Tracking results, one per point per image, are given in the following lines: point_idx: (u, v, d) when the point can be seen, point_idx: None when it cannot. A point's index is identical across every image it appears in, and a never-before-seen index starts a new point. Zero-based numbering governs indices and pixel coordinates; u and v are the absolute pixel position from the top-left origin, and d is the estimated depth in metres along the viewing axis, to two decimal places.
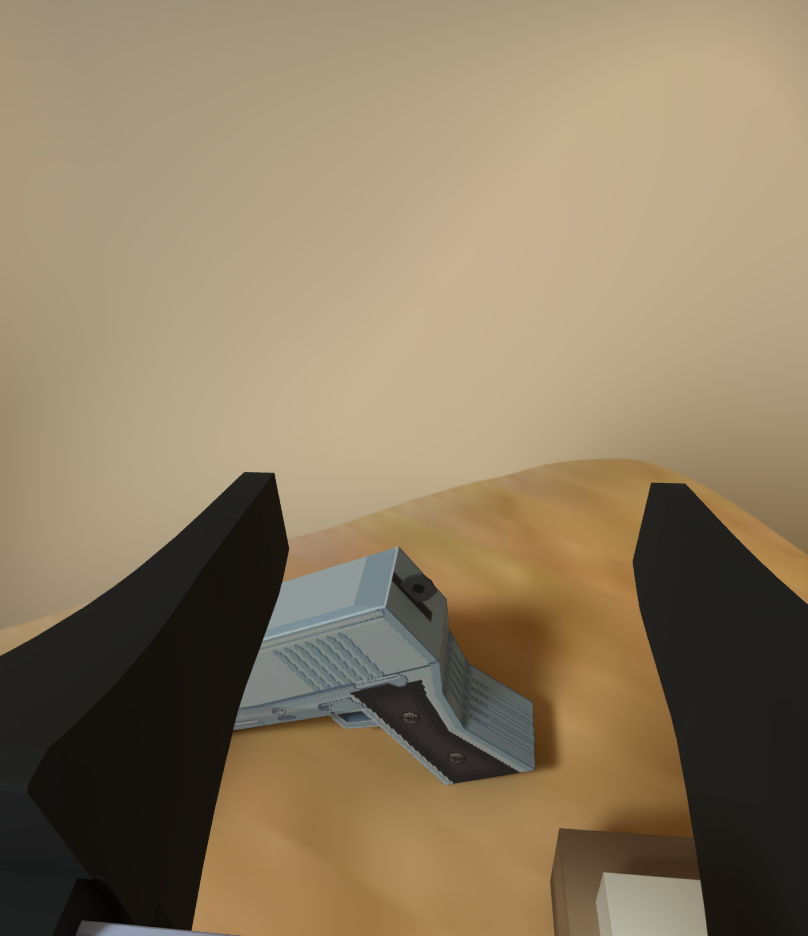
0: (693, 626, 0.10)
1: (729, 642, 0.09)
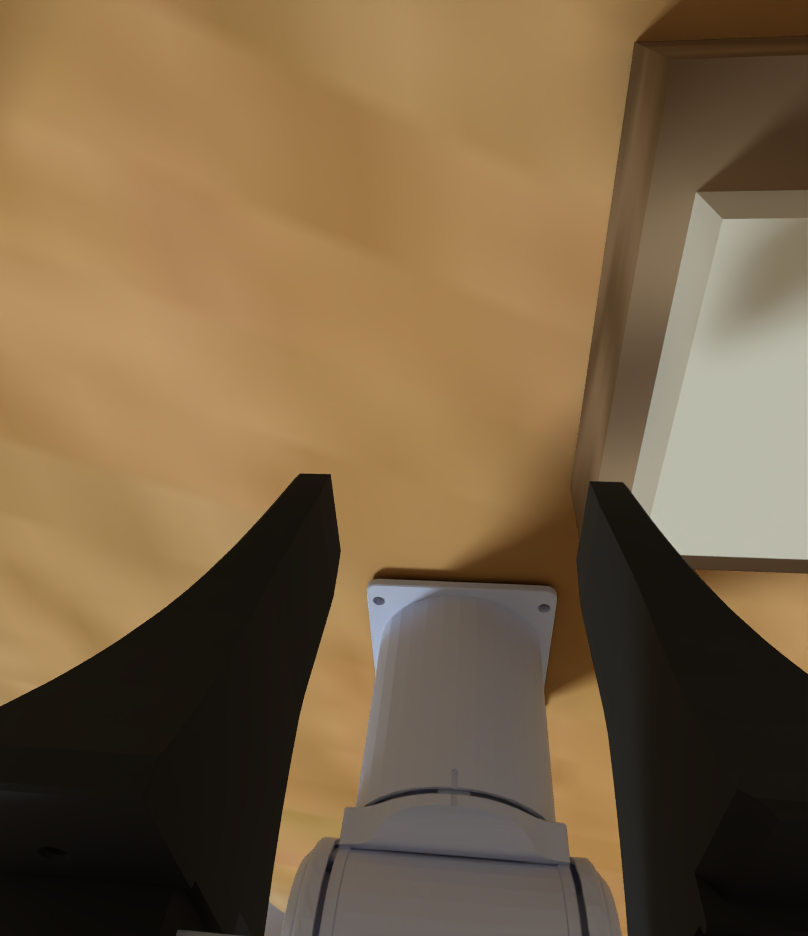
0: (619, 623, 0.10)
1: (644, 638, 0.09)
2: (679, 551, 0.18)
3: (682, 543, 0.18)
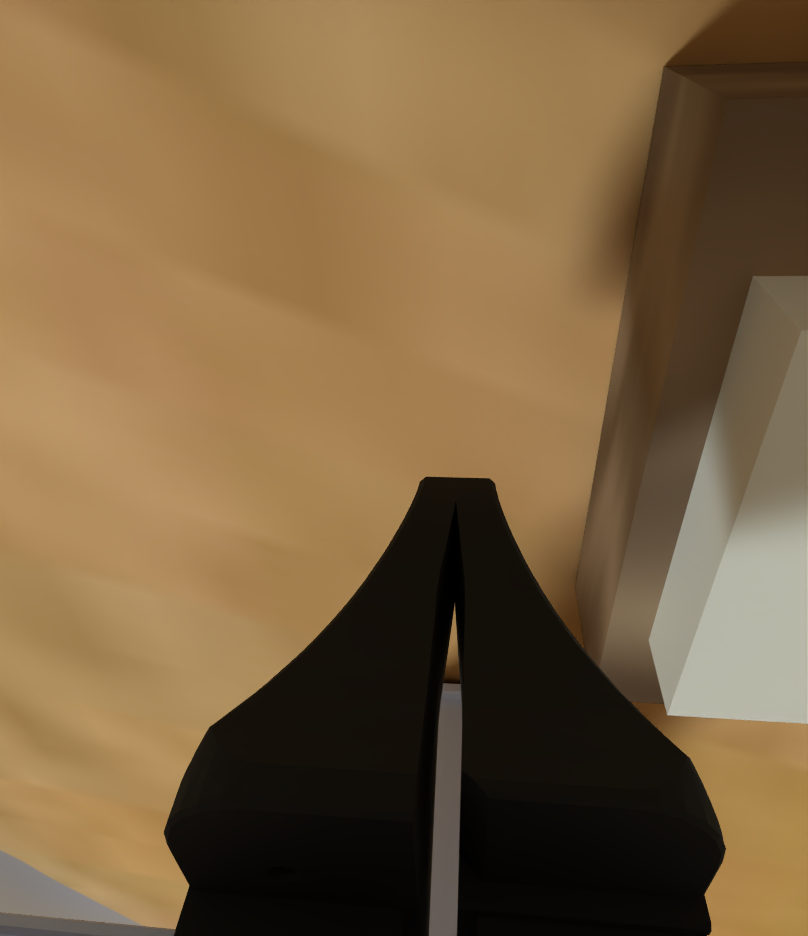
0: (462, 615, 0.10)
1: None
2: (716, 714, 0.14)
3: (721, 706, 0.14)
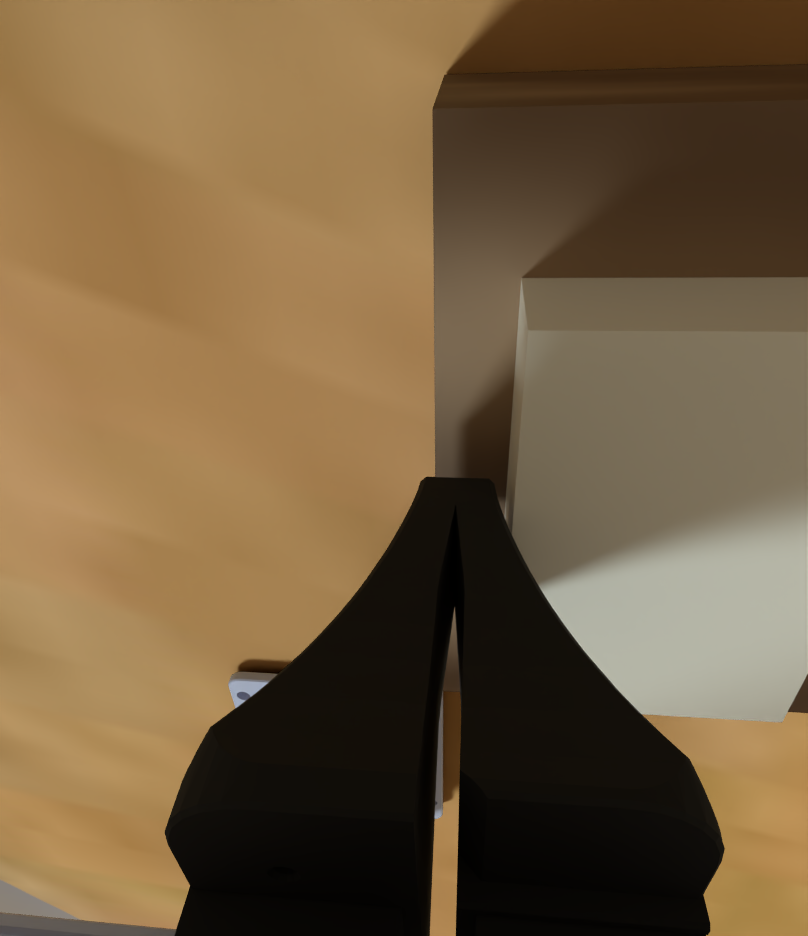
0: (461, 615, 0.10)
1: None
2: None
3: None
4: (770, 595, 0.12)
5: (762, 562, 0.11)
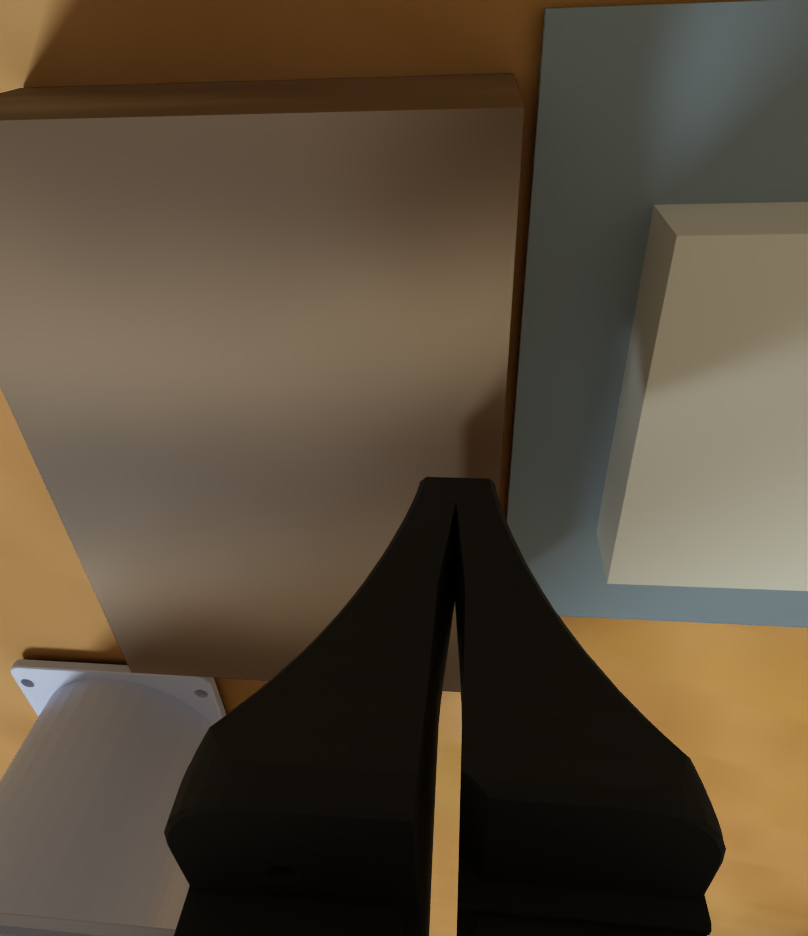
0: (462, 615, 0.10)
1: None
2: None
3: None
4: None
5: None
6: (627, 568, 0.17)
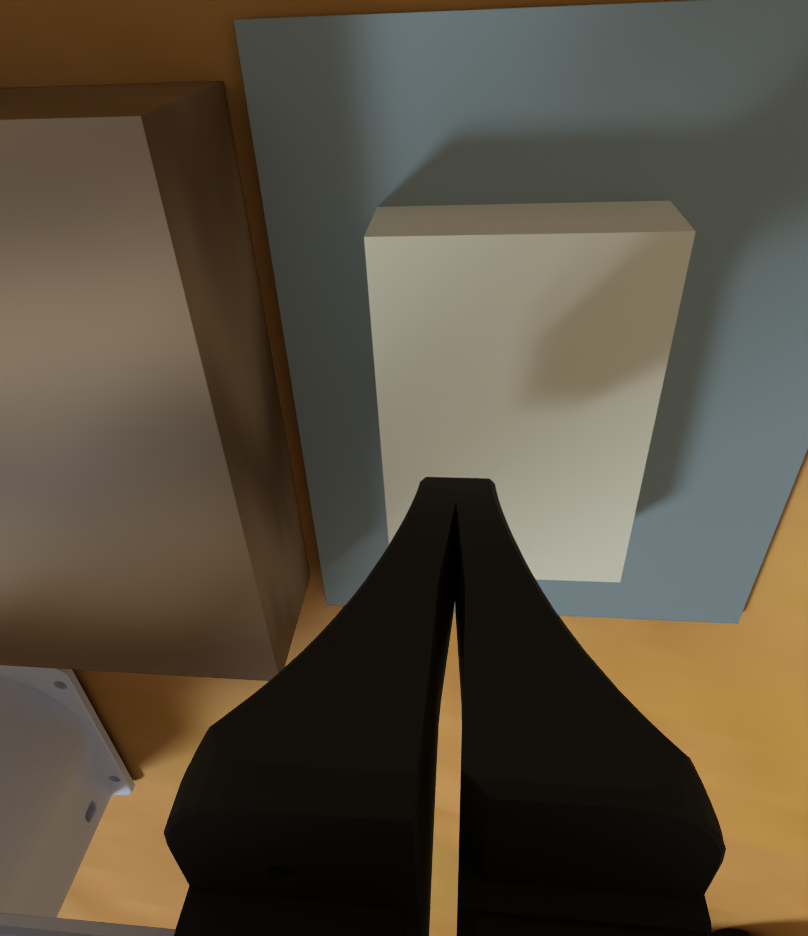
0: (462, 615, 0.10)
1: None
2: None
3: None
4: None
5: None
6: None
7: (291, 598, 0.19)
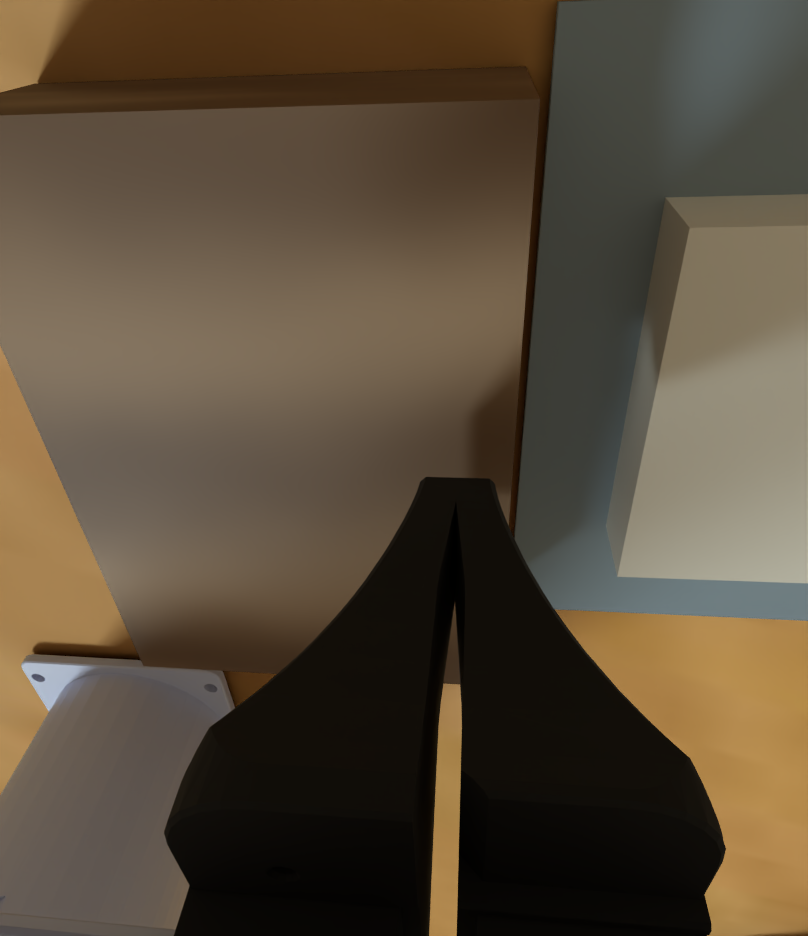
0: (462, 615, 0.10)
1: None
2: None
3: None
4: None
5: None
6: (637, 561, 0.17)
7: None
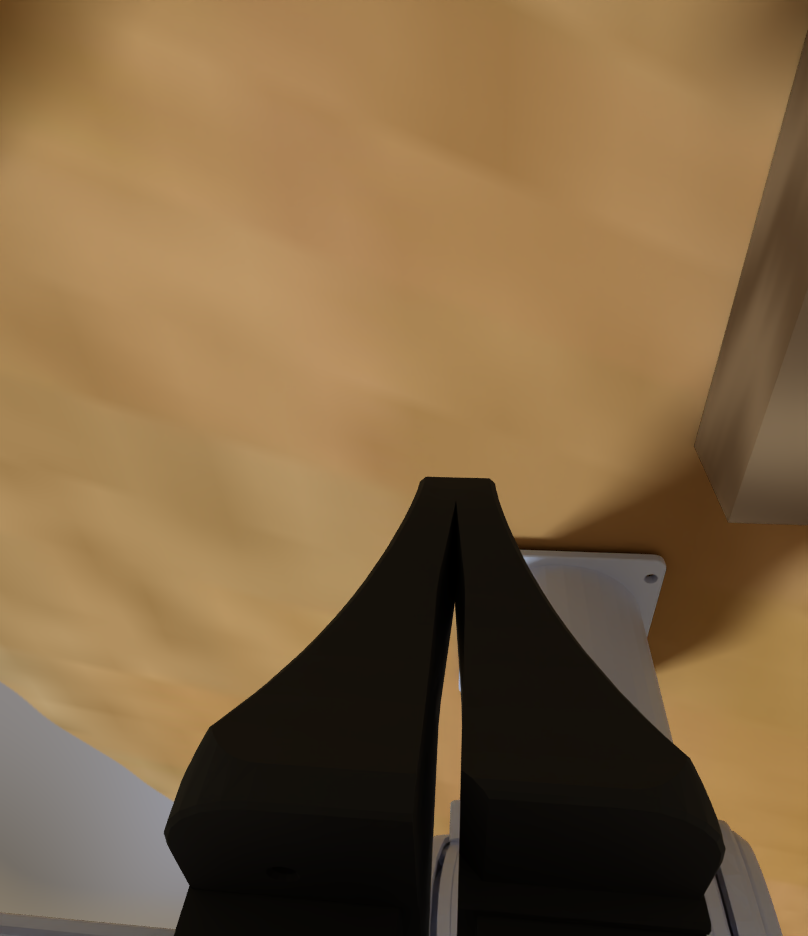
0: (461, 615, 0.10)
1: None
2: None
3: None
4: None
5: None
6: None
7: None
